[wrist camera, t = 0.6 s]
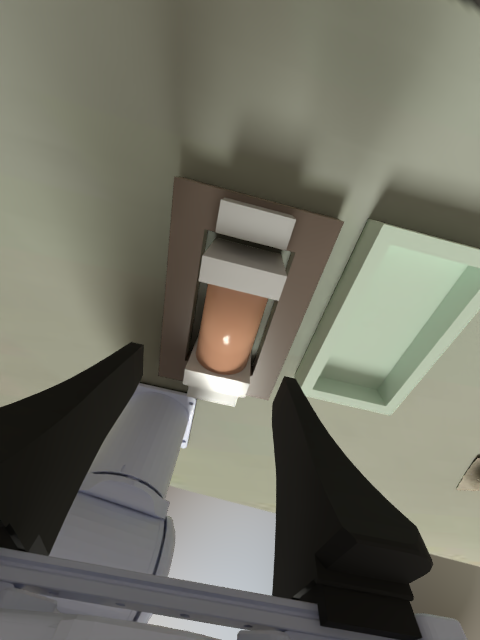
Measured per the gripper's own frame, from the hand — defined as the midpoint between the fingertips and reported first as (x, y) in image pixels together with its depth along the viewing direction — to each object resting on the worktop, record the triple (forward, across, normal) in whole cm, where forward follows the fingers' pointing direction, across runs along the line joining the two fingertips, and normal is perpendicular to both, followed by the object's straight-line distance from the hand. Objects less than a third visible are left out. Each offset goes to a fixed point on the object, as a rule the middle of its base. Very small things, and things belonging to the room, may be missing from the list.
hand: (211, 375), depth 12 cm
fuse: (+9, 0, +1) cm, 9 cm away
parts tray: (+9, -12, -1) cm, 16 cm away
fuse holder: (+9, 0, +1) cm, 9 cm away
